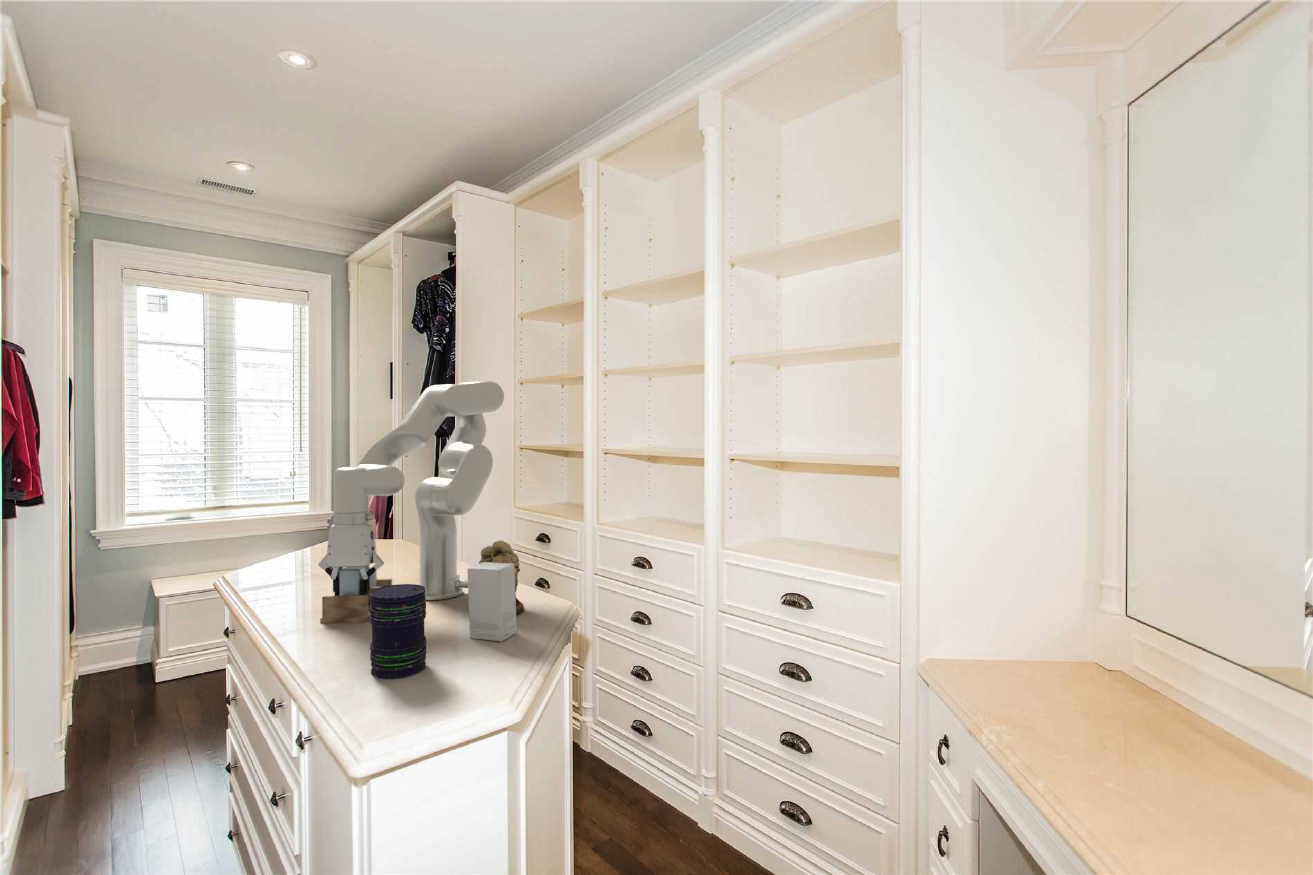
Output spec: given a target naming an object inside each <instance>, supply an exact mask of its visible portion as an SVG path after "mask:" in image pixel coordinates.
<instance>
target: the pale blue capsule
mask: <svg viewBox="0 0 1313 875" xmlns="http://www.w3.org/2000/svg"><path fill="white" fill-rule="evenodd" d="M377 579H378V578H377V571H376V572H375V573H373V574H372V576H371V577H370V587H377Z"/></svg>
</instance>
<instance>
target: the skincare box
mask: <svg viewBox="0 0 1313 875" xmlns="http://www.w3.org/2000/svg"><path fill="white" fill-rule="evenodd" d="M466 572H467V580H468V588H467V589H468V590H467V591H468V592H467V593H468V614H469V639H475V640H483V641H495V642H504V641H505V640H507V639H509V638H511V637H512V636H513V635H515V634H516V633H517V628H518V627H517V616H516V600H515V594H516V593H515V573H514V564H510V563H492V562H482V563H480V564H479V563H478V564H475V565H473V566H470V567H467V571H466Z"/></svg>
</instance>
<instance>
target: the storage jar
mask: <svg viewBox="0 0 1313 875" xmlns="http://www.w3.org/2000/svg"><path fill="white" fill-rule="evenodd" d="M370 598H371V601H370V605H371V606H370V622H369V623H370V624H371V640H372V641H371V643H370V644H369V646H370V647H369V650H370V655H369V660H370V666H371V669H370V675H371V676H372V677H374V678H376V679H378V680H397V679H398V680H399V679H405V678H409V677H413V676H416V675H418V674H421V673H422V672H424V671H425V669H426V668H425V667H427V661H426V658H427V656H426V655H427V642H428V640H427V637H426V636H425V620H426V616H427V611H426V610H427V609H426V608H427V600H425V587H424V586H421V585H420V584H415V583H413V584H412V583H404V584H403V583H399V584H392V585H390V586H385V587H381V588H377V589H375V590H373V591H371V593H370Z"/></svg>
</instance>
